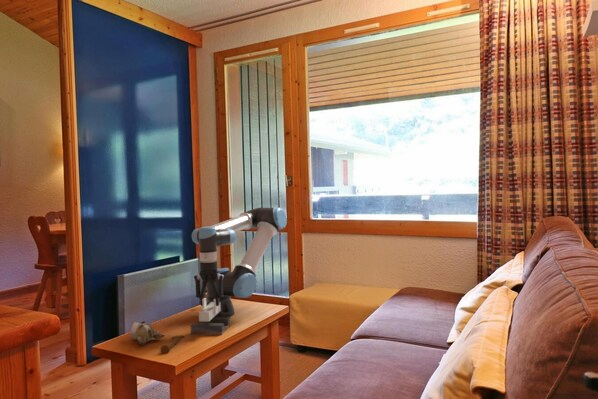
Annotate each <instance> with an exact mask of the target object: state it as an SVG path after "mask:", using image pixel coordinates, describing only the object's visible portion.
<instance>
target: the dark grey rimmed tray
mask: <svg viewBox="0 0 598 399" xmlns="http://www.w3.org/2000/svg"><path fill="white" fill-rule="evenodd" d="M230 327H231V316H230V317H213V318H212V319H211V320H210V321H199V320H198V322H193V323H192V324H190V335H206V336H207V335H209V336H210V335H213V336H217V335H218V336H222V335H223V334H224V333H225V332H226V331H227V330H228V329H230Z"/></svg>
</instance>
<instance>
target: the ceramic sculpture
mask: <svg viewBox="0 0 598 399" xmlns="http://www.w3.org/2000/svg"><path fill="white" fill-rule="evenodd" d="M129 335H130V338H131V340H134V341H137V343H138V344H140V345H145V344H147V343H148V342H150V341H152V340H153V339H158V340H159V339H162V338H164V337H166V335H165V334H163V333H161V331H159V330H155V328H154V326H153V325H152V324H149V323H147V322H146V321H141V322H138V321H133V324H132V325H131V329H130V332H129Z"/></svg>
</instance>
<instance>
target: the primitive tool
mask: <svg viewBox="0 0 598 399" xmlns="http://www.w3.org/2000/svg"><path fill="white" fill-rule="evenodd" d="M185 337H186V336H185V335H175V336H172V337H171V338H170V340H169V341H168V342H167V343H166V344H164V345H162V346H161V347H160V353H161V354H164V355H165V354H168V353H170V350H171V349H172V348H173V347H174V346H175V345H177V344H179V342H180V341H182V340H183V339H184V338H185Z"/></svg>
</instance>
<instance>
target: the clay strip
mask: <svg viewBox="0 0 598 399" xmlns="http://www.w3.org/2000/svg"><path fill="white" fill-rule="evenodd" d="M220 311H221V303H220V302H219V306H218V312H217V313H216V314H214V302H211V303H210V304H208V305H207V306H206V307H205V308H203V307H202V309H201V310H200V311H198V322H199V321H210V320H211V319H212V318H213V317H215V316H216V315H217V314H218V313H219V312H220Z"/></svg>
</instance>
